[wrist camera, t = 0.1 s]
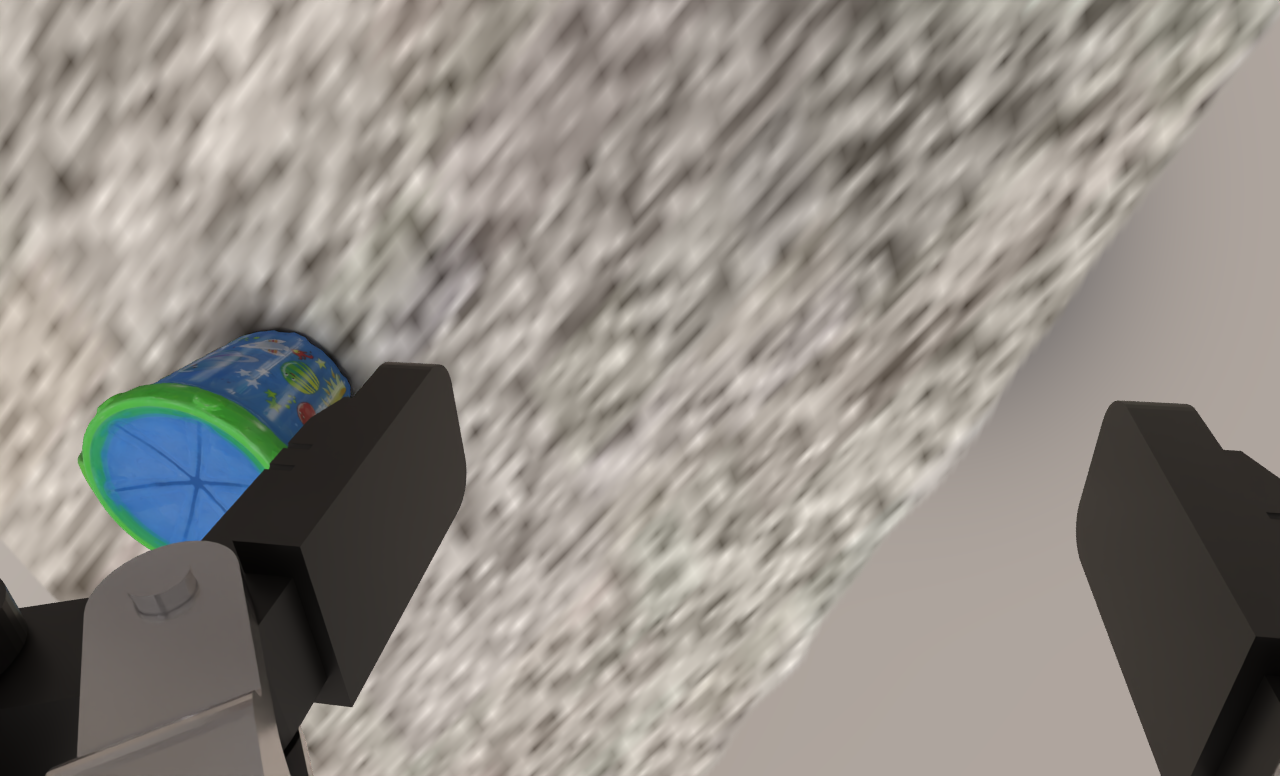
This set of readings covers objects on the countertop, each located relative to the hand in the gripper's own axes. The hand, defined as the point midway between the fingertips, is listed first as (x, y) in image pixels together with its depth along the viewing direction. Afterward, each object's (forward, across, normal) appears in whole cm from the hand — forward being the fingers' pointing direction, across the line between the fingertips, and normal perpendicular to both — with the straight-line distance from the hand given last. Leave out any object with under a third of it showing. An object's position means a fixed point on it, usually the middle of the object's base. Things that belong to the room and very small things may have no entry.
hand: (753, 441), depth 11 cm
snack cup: (+29, +27, +18) cm, 44 cm away
